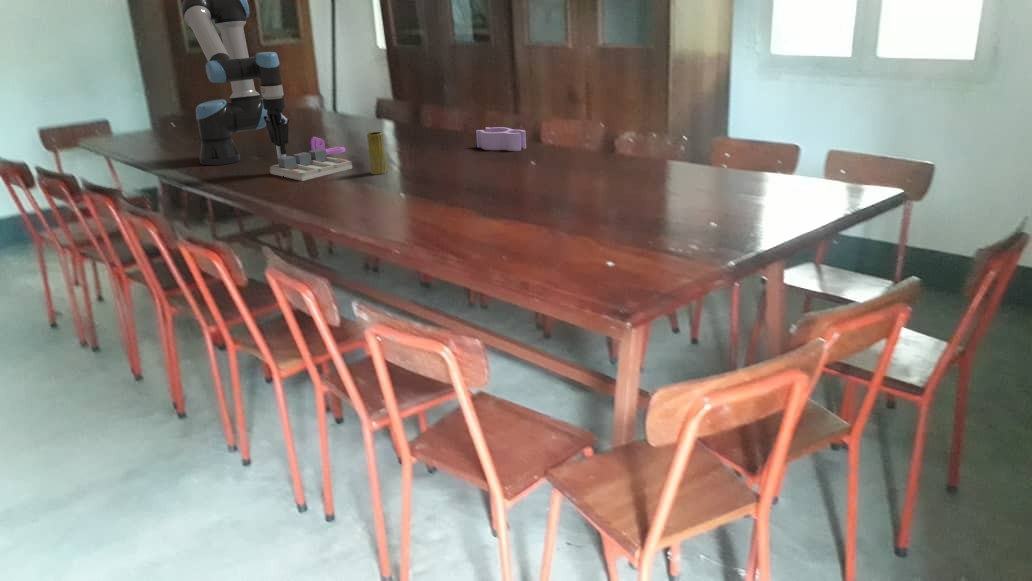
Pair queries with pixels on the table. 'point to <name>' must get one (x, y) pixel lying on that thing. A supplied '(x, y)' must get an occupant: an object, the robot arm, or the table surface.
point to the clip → (501, 139)
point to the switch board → (313, 169)
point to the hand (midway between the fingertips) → (282, 162)
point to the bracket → (320, 144)
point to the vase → (376, 153)
